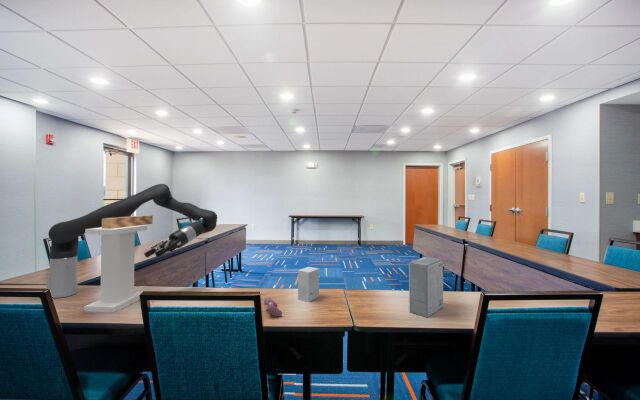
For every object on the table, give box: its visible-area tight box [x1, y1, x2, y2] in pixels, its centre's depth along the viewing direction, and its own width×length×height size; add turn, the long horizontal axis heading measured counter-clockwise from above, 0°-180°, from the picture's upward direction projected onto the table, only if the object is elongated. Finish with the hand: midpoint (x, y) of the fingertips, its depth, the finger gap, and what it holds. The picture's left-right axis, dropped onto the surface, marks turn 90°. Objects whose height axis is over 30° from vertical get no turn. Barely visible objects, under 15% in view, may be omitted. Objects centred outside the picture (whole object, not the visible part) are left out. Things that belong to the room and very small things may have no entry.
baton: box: [102, 215, 154, 229], centre depth 120 cm, size 24×4×4 cm, turn 176°
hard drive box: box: [408, 256, 444, 318], centre depth 109 cm, size 16×8×20 cm, turn 134°
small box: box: [297, 266, 320, 303], centre depth 121 cm, size 8×6×13 cm
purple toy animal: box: [262, 296, 283, 317], centre depth 105 cm, size 10×5×7 cm, turn 21°
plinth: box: [83, 224, 148, 313], centre depth 113 cm, size 18×12×32 cm, turn 176°
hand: (150, 255), depth 114 cm, fingers open, 8 cm apart
